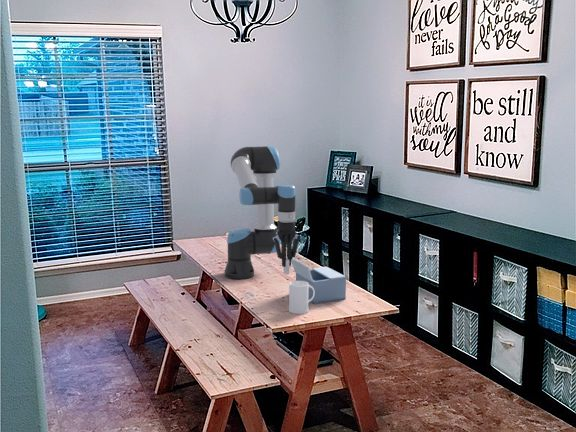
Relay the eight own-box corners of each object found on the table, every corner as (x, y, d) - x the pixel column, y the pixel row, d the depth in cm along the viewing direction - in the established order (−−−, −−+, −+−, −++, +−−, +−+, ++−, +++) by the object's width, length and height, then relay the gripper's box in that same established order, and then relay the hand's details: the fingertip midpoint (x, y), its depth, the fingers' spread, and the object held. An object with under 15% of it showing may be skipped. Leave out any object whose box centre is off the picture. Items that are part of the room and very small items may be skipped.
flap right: (330, 279, 265) (330, 278, 265) (312, 269, 281) (312, 268, 281) (345, 277, 268) (345, 276, 268) (326, 267, 284) (326, 266, 284)
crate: (313, 304, 263) (313, 282, 262) (295, 292, 279) (296, 271, 278) (345, 299, 270) (346, 277, 268) (326, 288, 286) (326, 267, 284)
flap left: (313, 281, 262) (312, 282, 261) (295, 271, 277) (294, 271, 277) (308, 266, 259) (307, 267, 259) (291, 257, 275) (289, 257, 275)
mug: (311, 305, 262) (311, 278, 259) (319, 311, 254) (319, 284, 252) (285, 308, 257) (285, 281, 255) (293, 315, 250) (293, 287, 247)
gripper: (276, 223, 255) (276, 277, 259) (303, 221, 260) (303, 274, 265) (269, 220, 262) (269, 273, 266) (296, 218, 267) (296, 269, 271)
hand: (286, 273), depth 265 cm, fingers closed
